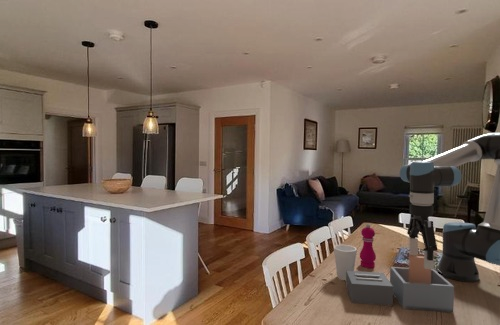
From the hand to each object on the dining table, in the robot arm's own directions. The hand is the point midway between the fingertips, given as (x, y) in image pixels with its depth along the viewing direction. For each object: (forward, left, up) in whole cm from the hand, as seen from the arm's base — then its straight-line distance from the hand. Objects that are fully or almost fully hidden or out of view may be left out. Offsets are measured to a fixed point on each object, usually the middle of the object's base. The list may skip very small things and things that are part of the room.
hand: (420, 261), depth 110 cm
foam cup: (+24, -16, -14) cm, 32 cm away
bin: (0, 0, -14) cm, 14 cm away
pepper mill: (+11, -32, -14) cm, 37 cm away
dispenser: (+18, 0, -14) cm, 23 cm away
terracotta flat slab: (0, 0, -13) cm, 13 cm away
